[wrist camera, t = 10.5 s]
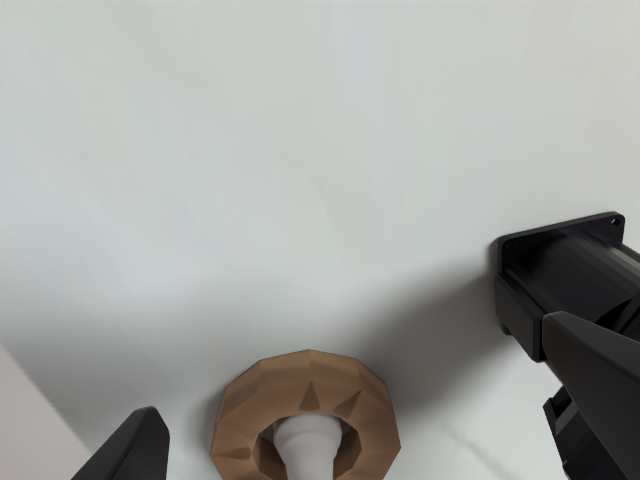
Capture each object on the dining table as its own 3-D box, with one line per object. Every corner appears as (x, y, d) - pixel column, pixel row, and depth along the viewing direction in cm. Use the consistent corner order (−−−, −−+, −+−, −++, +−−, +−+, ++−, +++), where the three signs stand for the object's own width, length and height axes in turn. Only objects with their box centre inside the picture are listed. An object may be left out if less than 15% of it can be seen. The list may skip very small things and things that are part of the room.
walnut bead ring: (375, 334, 24) (384, 363, 22) (399, 454, 29) (408, 488, 27) (194, 375, 25) (185, 407, 22) (247, 487, 29) (245, 522, 27)
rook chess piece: (312, 449, 28) (321, 590, 21) (258, 424, 27) (249, 565, 20) (354, 410, 27) (381, 545, 20) (300, 381, 25) (307, 515, 18)
